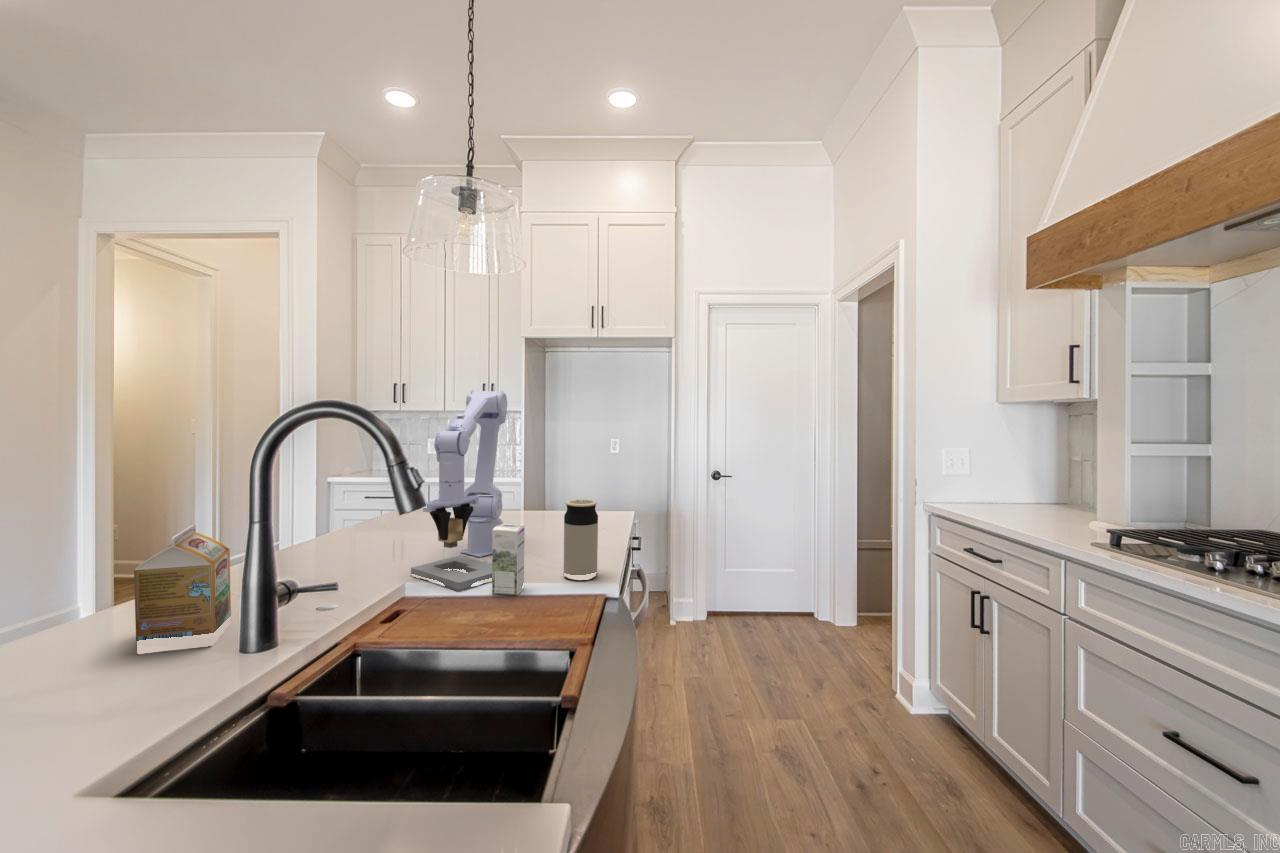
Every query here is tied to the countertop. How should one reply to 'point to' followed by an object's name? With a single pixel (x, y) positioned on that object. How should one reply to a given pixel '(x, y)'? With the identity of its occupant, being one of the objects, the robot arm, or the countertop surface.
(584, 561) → the travel mug
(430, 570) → the keyhole board
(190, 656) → the countertop surface
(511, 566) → the syrup box
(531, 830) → the countertop surface
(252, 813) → the countertop surface
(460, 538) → the keyhole peg
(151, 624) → the milk carton
